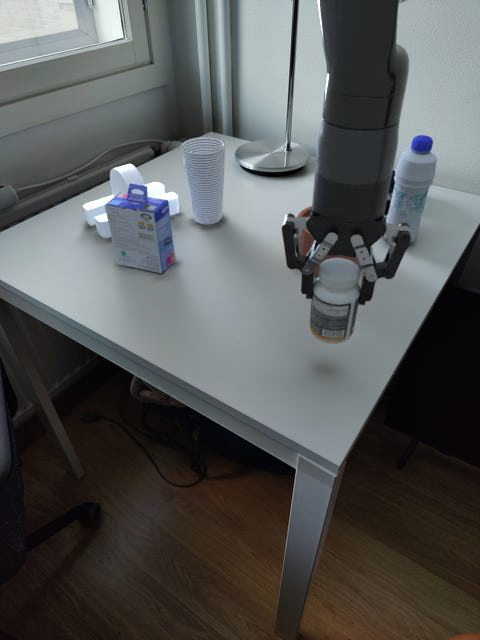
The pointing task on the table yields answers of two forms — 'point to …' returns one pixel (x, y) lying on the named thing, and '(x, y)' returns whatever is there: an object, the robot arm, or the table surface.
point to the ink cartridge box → (141, 230)
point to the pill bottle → (335, 301)
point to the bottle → (412, 184)
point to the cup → (205, 177)
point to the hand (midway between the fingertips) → (335, 297)
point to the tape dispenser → (120, 184)
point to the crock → (307, 242)
